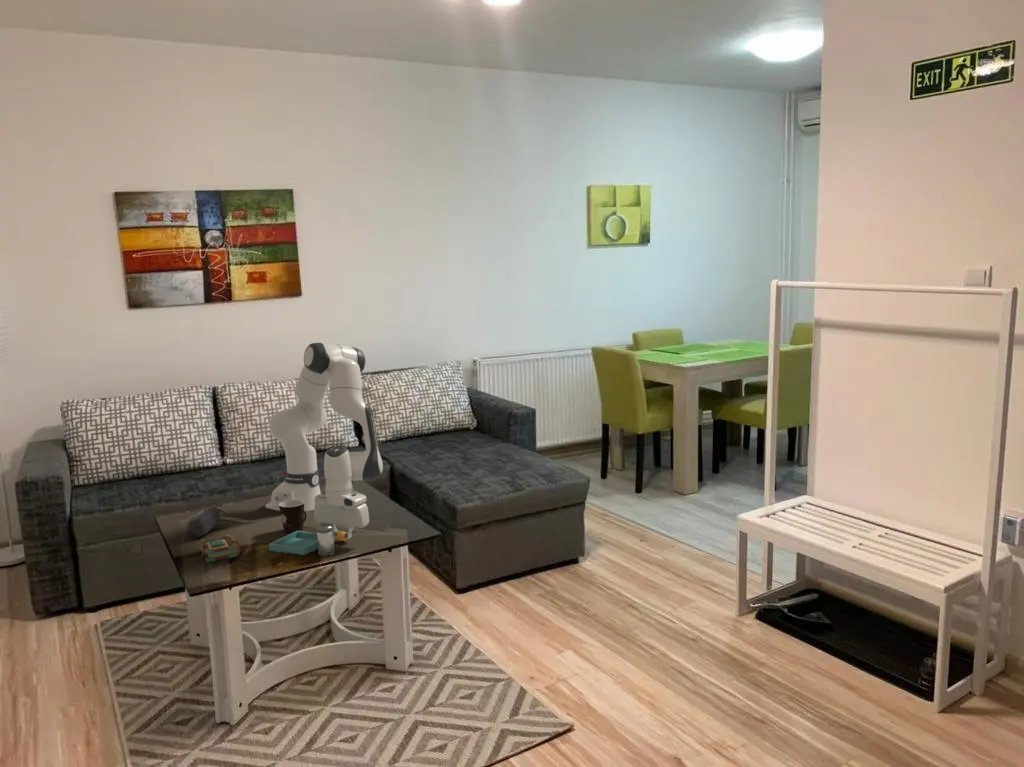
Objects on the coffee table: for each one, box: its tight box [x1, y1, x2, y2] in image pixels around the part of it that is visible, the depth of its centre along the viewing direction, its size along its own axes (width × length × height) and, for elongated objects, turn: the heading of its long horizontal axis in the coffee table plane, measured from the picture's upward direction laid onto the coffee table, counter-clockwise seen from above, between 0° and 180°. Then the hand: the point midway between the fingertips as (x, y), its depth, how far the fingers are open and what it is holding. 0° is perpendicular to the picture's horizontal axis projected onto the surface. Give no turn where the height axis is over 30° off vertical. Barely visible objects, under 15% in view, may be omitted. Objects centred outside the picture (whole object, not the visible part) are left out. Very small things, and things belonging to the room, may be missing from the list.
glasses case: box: [186, 505, 229, 538], centre depth 286 cm, size 18×10×8 cm, turn 179°
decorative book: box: [200, 534, 241, 563], centre depth 266 cm, size 13×18×5 cm
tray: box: [268, 530, 318, 557], centre depth 268 cm, size 14×14×2 cm
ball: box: [336, 530, 348, 542], centre depth 272 cm, size 4×4×4 cm
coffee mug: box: [279, 500, 307, 534], centre depth 283 cm, size 12×9×10 cm
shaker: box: [315, 523, 335, 557], centre depth 261 cm, size 5×5×9 cm
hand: (342, 537), depth 272 cm, fingers closed on ball, 3 cm apart
